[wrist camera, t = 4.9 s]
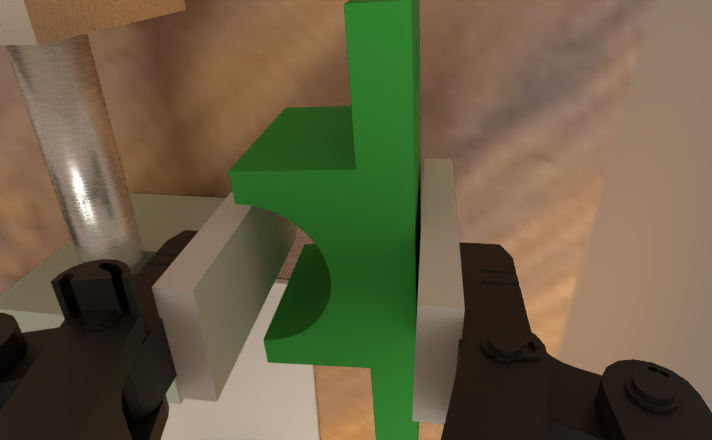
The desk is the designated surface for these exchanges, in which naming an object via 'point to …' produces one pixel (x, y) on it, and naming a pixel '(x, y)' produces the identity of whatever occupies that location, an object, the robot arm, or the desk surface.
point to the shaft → (77, 115)
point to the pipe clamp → (352, 214)
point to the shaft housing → (35, 292)
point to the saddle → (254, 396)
